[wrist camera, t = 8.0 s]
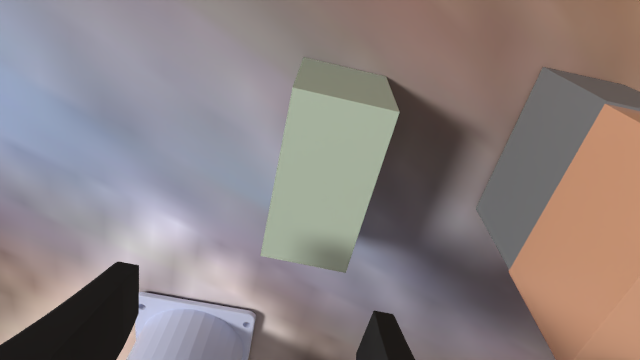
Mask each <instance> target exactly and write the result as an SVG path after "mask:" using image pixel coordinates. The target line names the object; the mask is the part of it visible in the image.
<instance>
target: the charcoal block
mask: <svg viewBox="0 0 640 360" xmlns="http://www.w3.org/2000/svg"><path fill="white" fill-rule="evenodd" d="M604 104H609V105H613V106H618V107H623V108H627V109H632V110H636V111H640V92H639V91H637V90H634V89H632V88H630V87H628V86H625V85H622V84H618V83H613V82H609V81H604V80H600V79H595V78H591V77H586V76H582V75H577V74H573V73H568V72H564V71H559V70H555V69H550V68H546V67H543V68H542V70H541V72H540V74H539V77H538V79H537V81H536V83H535V85H534V87H533V89H532V91H531V93H530V96H529V98H528V100H527V102H526V104H525V106H524V108H523V110H522V112H521V115H520V117H519V119H518V121H517V123H516V125H515V127H514V129H513V131H512V134H511V136H510V138H509V140H508V142H507V144H506V146H505V148H504V150H503V153H502V155H501V157H500V159H499V161H498V163H497V165H496V167H495V169H494V171H493V174H492V176H491V178H490V180H489V182H488V184H487V186H486V188H485V190H484V193H483V195H482V197H481V199H480V201H479V203H478V205H477V207H476V210H477V212H478V214H479V216H480V217H481V219H482V221H483V223H484V225H485V227H486V228H487V230H488V232H489V234H490V236H491V238H492V239H493V241H494V243H495V245H496V247H497V248H498V250H499V252H500V254H501V256H502V258H503V259H504V261H505V263H506V265H507V267H508V269H509V270H510V268H511V266H512V265H513V263H514V261H515V260H516V258H517V256H518V254H519V253H520V251H521V249H522V247H523V246H524V244H525V242H526V240H527V239H528V237H529V235H530V233H531V232H532V230H533V228H534V226H535V225H536V223H537V221H538V219H539V218H540V216H541V214H542V212H543V211H544V209H545V207H546V206H547V204H548V202H549V200H550V199H551V197H552V195H553V193H554V192H555V190H556V188H557V186H558V185H559V183H560V181H561V179H562V178H563V176H564V174H565V172H566V171H567V169H568V167H569V165H570V164H571V162H572V160H573V158H574V157H575V155H576V153H577V152H578V150H579V148H580V146H581V145H582V143H583V141H584V139H585V138H586V136H587V134H588V132H589V131H590V129H591V127H592V125H593V124H594V122H595V120H596V118H597V117H598V115H599V113H600V111H601V110H602V108H603V106H604Z"/></svg>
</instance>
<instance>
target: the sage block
mask: <svg viewBox="0 0 640 360" xmlns="http://www.w3.org/2000/svg"><path fill="white" fill-rule="evenodd" d="M398 115H399V109H398V107H397V104H396V101H395V99H394V96H393V94H392V91H391V88H390V86H389V83H388V81H387V78H386V76H381V75H377V74H373V73H369V72H364V71H360V70H356V69H352V68H347V67H343V66H339V65H335V64H331V63H326V62H322V61H318V60H314V59H309V58H305V57H304V58H303V60H302V63H301V66H300V69H299V71H298V74H297V77H296V80H295V82H294V85H293V88H292V94H291V99H290V104H289V109H288V114H287V120H286V125H285V130H284V135H283V141H282V146H281V151H280V156H279V161H278V167H277V172H276V177H275V182H274V188H273V193H272V198H271V203H270V208H269V214H268V219H267V224H266V229H265V235H264V240H263V245H262V250H261V255H260V256H264V257H269V258H274V259H279V260H284V261H289V262H294V263H299V264H304V265H309V266H314V267H319V268H324V269H329V270H334V271H339V272H344V273H346V270H347V267H348V264H349V261H350V258H351V255H352V252H353V249H354V246H355V243H356V240H357V237H358V234H359V231H360V228H361V225H362V222H363V219H364V217H365V214H366V211H367V208H368V205H369V202H370V199H371V196H372V193H373V190H374V187H375V184H376V181H377V178H378V175H379V172H380V169H381V166H382V163H383V160H384V157H385V154H386V151H387V148H388V145H389V142H390V139H391V136H392V133H393V130H394V127H395V124H396V121H397V118H398Z"/></svg>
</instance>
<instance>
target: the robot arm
mask: <svg viewBox="0 0 640 360" xmlns="http://www.w3.org/2000/svg"><path fill="white" fill-rule="evenodd" d="M255 319H256V315H255V313H253V312H252V311H249V310H243V309H237V308H232V307H226V306H220V305H214V304H209V303H203V302H197V301H192V300H186V299H180V298H174V297H169V296H163V295H157V294H151V293H146V292H140V293H139V265H133V264H128V263H123V262H116V263H115V264H113V265H112V266H111V267H109V268H108V269H107V270H106V271H104V272H103V273H102V274H100V275H99V276H98V277H97V278H95V279H94V280H93V281H91V282H90V283H89V284H88V285H86V286H85V287H84V288H82V289H81V290H80V291H78V292H77V293H76V294H74V295H73V296H72V297H70V298H69V299H67V300H66V301H65V302H63V303H62V304H61V305H59V306H58V307H56V308H55V309H54V310H52V311H51V312H50V313H48V314H47V315H45V316H44V317H42V318H41V319H39V320H38V321H36V322H35V323H33V324H32V325H30V326H29V327H27V328H26V329H24V330H23V331H21V332H20V333H18V334H17V335H15V336H14V337H12V338H11V339H9V340H7V341H6V342H4V343H3V344H1V345H0V360H116V359H117V357H118V356H119V354H120V352H121V351H122V349H123V347H124V345H125V343H126V341H127V339H128V336H129V334H130V332H131V330H132V328H133V325H134V323H135V327H136V342H135V344H134V346H133V348H132V350H131V352H130V353H129V355H128V357H127V359H126V360H248V358H249V353H250V347H251V341H252V336H253V330H254V324H255ZM246 322H248V323H246ZM356 360H415V359H414V357H413V355H412V352H411V350H410V348H409V346H408V344H407V342H406V340H405V338H404V336H403V334H402V332H401V330H400V327H399V325H398V323H397V321H396V319H395V317H394V315H393V314H389V313H384V312H378V311H373V314H372V316H371V319H370V321H369V324H368V326H367V329H366V331H365V333H364V336H363V338H362V341H361V343H360V346H359V348H358V351H357V353H356Z"/></svg>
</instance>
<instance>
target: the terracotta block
mask: <svg viewBox="0 0 640 360" xmlns="http://www.w3.org/2000/svg"><path fill="white" fill-rule="evenodd" d="M509 274H510V276H511V277H512V279H513V281H514V283H515V285H516V287H517V289H518V290H519V292H520V294H521V296H522V298H523V300H524V301H525V303H526V305H527V307H528V309H529V311H530V313H531V314H532V316H533V318H534V320H535V322H536V324H537V326H538V327H539V329H540V331H541V333H542V335H543V337H544V338H545V340H546V342H547V344H548V346H549V348H550V350H551V351H552V353H553V355H554V357H555V359H556V360H640V111H636V110H632V109H627V108H623V107H618V106H613V105H609V104H604V106H603V108H602V110H601V111H600V113H599V115H598V117H597V118H596V120H595V122H594V124H593V125H592V127H591V129H590V131H589V132H588V134H587V136H586V138H585V139H584V141H583V143H582V145H581V146H580V148H579V150H578V152H577V153H576V155H575V157H574V158H573V160H572V162H571V164H570V165H569V167H568V169H567V171H566V172H565V174H564V176H563V178H562V179H561V181H560V183H559V185H558V186H557V188H556V190H555V192H554V193H553V195H552V197H551V199H550V200H549V202H548V204H547V206H546V207H545V209H544V211H543V212H542V214H541V216H540V218H539V219H538V221H537V223H536V225H535V226H534V228H533V230H532V232H531V233H530V235H529V237H528V239H527V240H526V242H525V244H524V246H523V247H522V249H521V251H520V253H519V254H518V256H517V258H516V260H515V261H514V263H513V265H512V266H511V268H510V270H509Z"/></svg>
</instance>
